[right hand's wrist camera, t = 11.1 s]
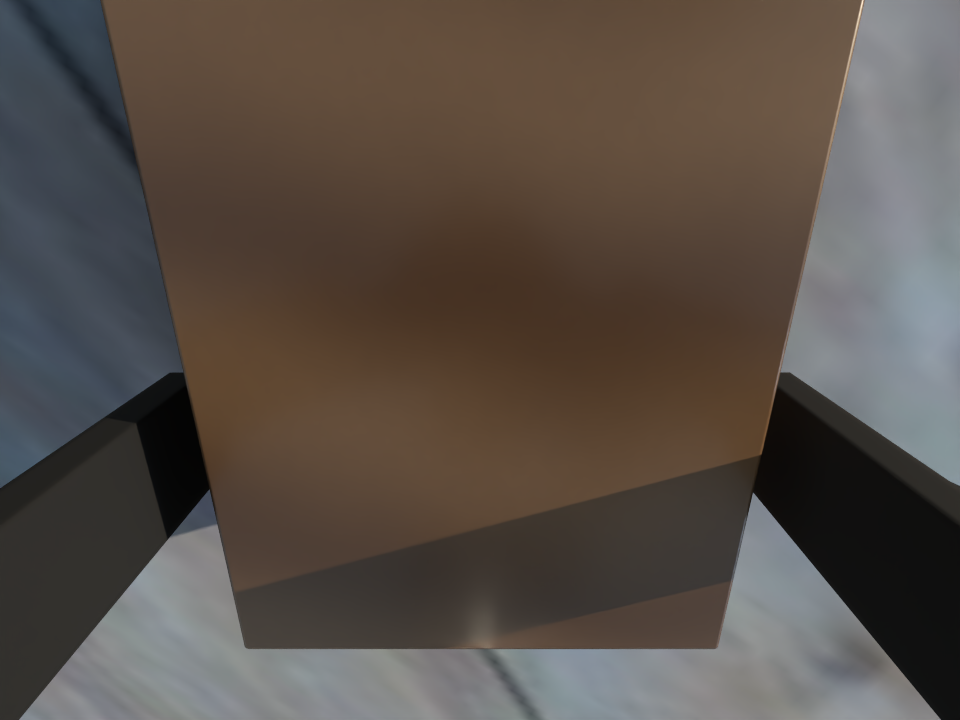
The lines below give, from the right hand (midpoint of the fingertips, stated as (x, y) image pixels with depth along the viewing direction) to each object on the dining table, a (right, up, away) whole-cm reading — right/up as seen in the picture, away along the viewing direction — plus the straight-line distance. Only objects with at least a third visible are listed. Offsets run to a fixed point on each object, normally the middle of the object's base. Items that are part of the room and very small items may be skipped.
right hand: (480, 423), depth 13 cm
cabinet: (0, +7, +6) cm, 9 cm away
